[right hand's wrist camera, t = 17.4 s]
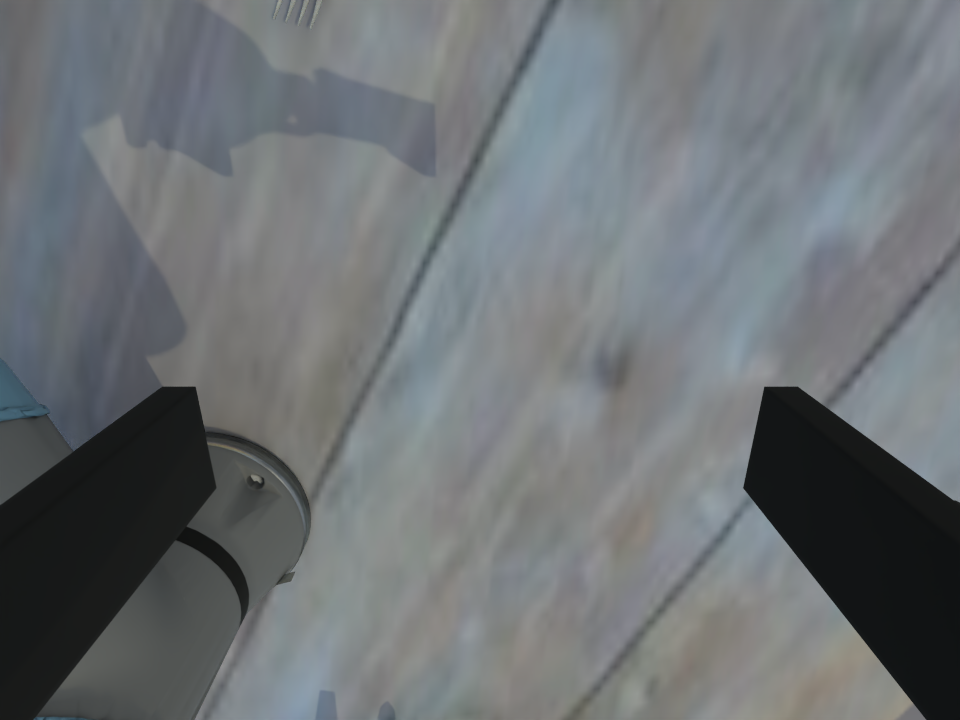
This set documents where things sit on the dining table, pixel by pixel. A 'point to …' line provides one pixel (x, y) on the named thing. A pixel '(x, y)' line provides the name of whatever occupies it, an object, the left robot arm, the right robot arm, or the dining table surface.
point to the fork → (305, 4)
